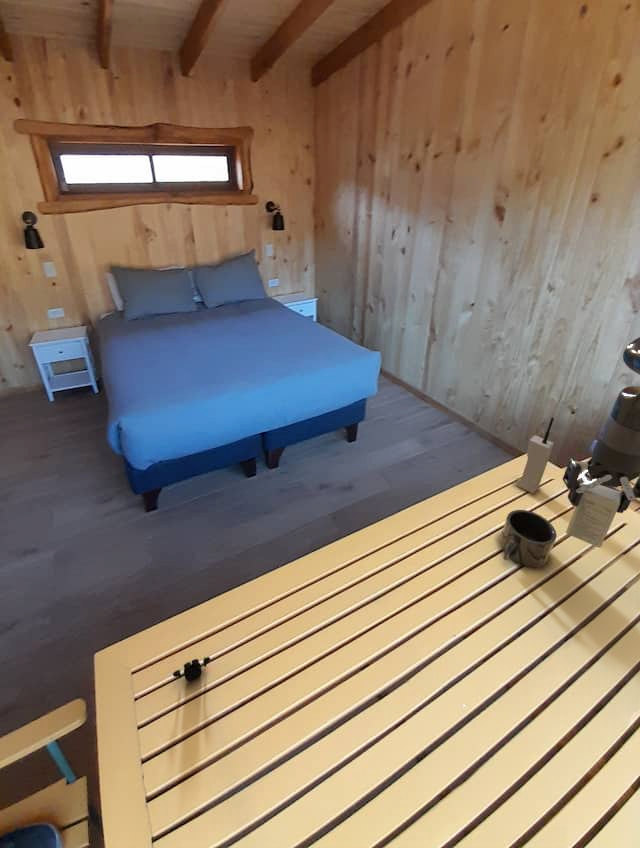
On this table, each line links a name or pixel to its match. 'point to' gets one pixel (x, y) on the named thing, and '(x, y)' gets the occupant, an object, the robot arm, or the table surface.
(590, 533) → the cosmetic box
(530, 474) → the vintage mobile phone
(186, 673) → the wireless earbuds
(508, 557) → the mug
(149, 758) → the table surface
